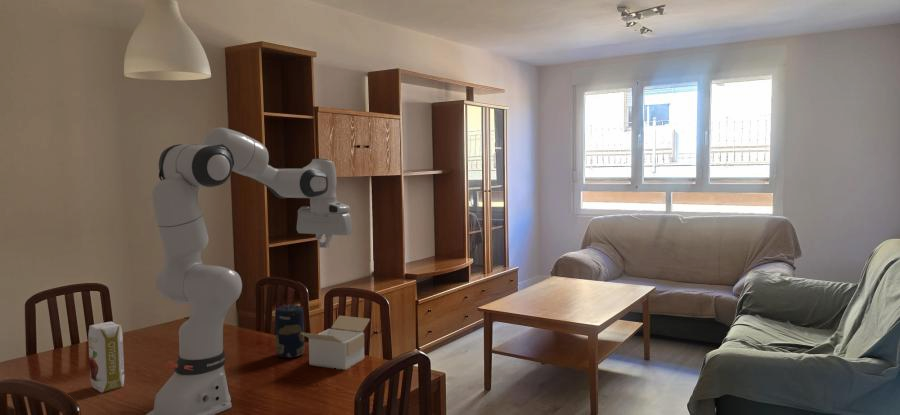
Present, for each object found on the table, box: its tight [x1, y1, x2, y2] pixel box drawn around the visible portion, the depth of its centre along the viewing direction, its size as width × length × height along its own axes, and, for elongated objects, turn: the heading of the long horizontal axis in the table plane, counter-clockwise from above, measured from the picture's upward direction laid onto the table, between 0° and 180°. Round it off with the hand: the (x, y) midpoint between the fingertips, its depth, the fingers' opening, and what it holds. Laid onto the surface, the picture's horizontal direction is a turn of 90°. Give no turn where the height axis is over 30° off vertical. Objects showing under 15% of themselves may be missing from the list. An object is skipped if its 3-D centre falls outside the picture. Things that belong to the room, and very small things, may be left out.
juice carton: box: [87, 321, 125, 393], centre depth 173 cm, size 8×9×19 cm
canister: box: [274, 304, 305, 359], centre depth 202 cm, size 10×10×18 cm
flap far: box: [330, 315, 371, 333], centre depth 203 cm, size 6×12×1 cm, turn 68°
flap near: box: [300, 332, 343, 343], centre depth 186 cm, size 6×12×1 cm
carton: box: [308, 328, 365, 371], centre depth 195 cm, size 12×15×9 cm
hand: (324, 247), depth 197 cm, fingers closed
